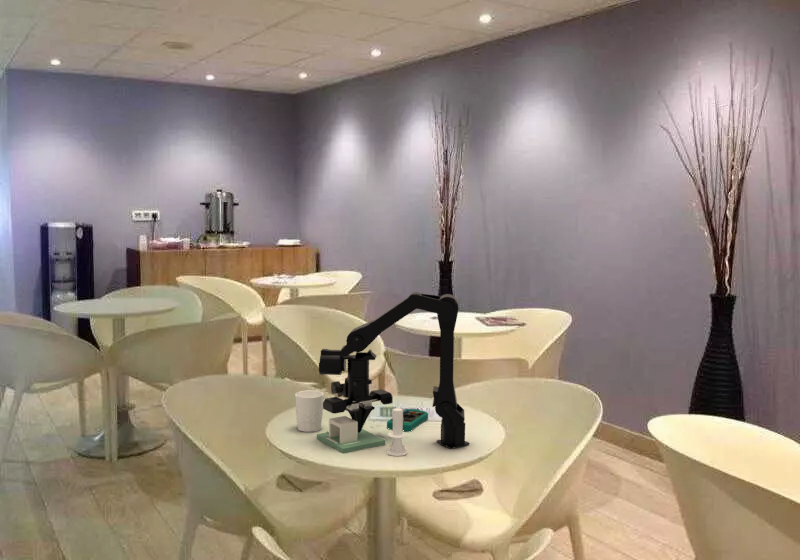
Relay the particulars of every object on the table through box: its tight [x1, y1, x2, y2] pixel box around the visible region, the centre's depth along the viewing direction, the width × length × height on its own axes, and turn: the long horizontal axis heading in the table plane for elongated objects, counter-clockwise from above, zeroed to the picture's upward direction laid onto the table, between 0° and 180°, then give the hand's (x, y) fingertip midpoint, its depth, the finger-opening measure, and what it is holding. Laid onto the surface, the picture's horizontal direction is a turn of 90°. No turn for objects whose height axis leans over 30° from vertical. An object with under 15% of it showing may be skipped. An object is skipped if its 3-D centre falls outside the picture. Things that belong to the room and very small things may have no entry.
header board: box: [316, 428, 387, 454], centre depth 199 cm, size 14×13×1 cm
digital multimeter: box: [386, 408, 429, 432], centre depth 216 cm, size 7×15×3 cm, turn 156°
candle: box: [386, 407, 409, 457], centre depth 190 cm, size 5×5×12 cm
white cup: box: [294, 389, 325, 433], centre depth 209 cm, size 8×8×10 cm
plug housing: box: [328, 415, 358, 443], centre depth 197 cm, size 6×5×5 cm
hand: (358, 432), depth 200 cm, fingers closed
